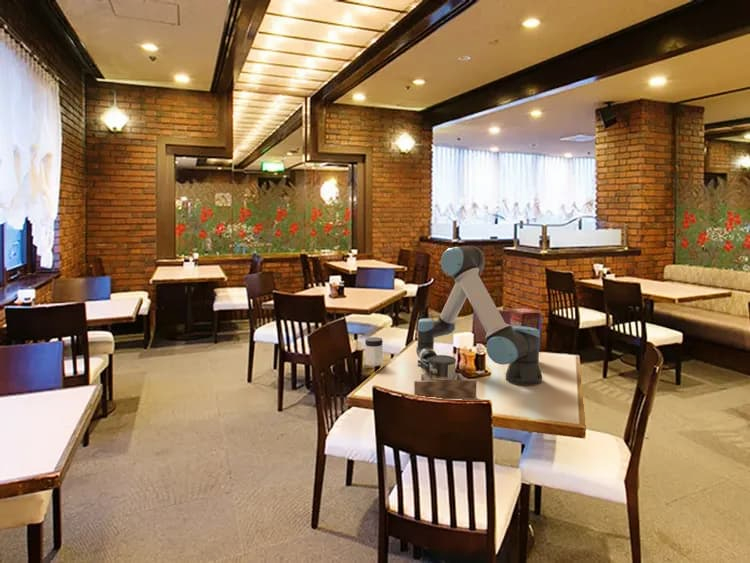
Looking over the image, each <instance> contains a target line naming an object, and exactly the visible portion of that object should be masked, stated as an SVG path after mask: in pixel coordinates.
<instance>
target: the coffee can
mask: <svg viewBox="0 0 750 563" xmlns="http://www.w3.org/2000/svg"><path fill="white" fill-rule="evenodd" d="M456 362H457V359H456V357H455V356H451V355H446V354H445V355H444V354H438V355H436V356H432V357H430V371H429V380H456Z"/></svg>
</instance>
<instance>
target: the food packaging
mask: <svg viewBox="0 0 750 563" xmlns="http://www.w3.org/2000/svg"><path fill="white" fill-rule="evenodd" d="M509 311H510V314H509V315H510V316H509V318H510V319H509V325H511V327H513V326H524V327H531V328H535V329H538V330H539V331H540V312H539V311H535V310H533V309H530V308H527V307H514V308H510V310H509Z"/></svg>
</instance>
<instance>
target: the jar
mask: <svg viewBox="0 0 750 563" xmlns="http://www.w3.org/2000/svg"><path fill="white" fill-rule="evenodd" d="M364 341H365V348H364V349H365V351H364V352H365V365H366V366H369V367H379V366H383V363H384V362H383V358H384V357H383V347H384V346H383V342H384V341H383V338H381V337H377V336H375V337H374V336H371V337H367V338H366V337H365V340H364Z"/></svg>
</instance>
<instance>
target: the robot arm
mask: <svg viewBox="0 0 750 563" xmlns="http://www.w3.org/2000/svg"><path fill="white" fill-rule="evenodd" d="M485 259H486V258H485V255H484V252H483V251H482V249H480V248H478V247H477V246H473V245H467V246H453V247H450V248H449V247H448V248H447V249H446V250H445V251H444V252H443V253H442V255H441V259H440V266H441V269H442V271H443V273H444V274H445V275H447V276H450V277H451V278H452V280H453V281H454V285H453V287H452V289H451V292H450V293H449V296H448V298H447V300H446V303H445V304H444V306H443V309H442V310H441V313H440V315H439V317H438V319H437V320H434V319H432V318H420V319H419V320H418V322H417V323H418V324H417V346H416V347H415V348H416V350H415V351H416V355H417V356H418V358H419V359H417V367H419V368H421V369H422V370H424V371H425V372H426V373H430V357H432V356H436V355H437V352H435V350H434V345H435V344H434V343H435V341H434V340H435V338H439V337H443V336H448V335H449V334H453V333H454V331H455V330H456V320H457V318H458V316H459V313H461V312H460V311H461V310H462V307H463V306H464V304H465V301H466V300H467V299H468V302H469V303H470V305H471V307H472V308H473V311H474V313H475V314H476V316H477V317H478V319H479V322H480V323H481V325H482V327H483V328H484V330H485V333H486V335H485V341H486V342H487V343H486V348H485V350H486V353H487V355H488V357H489V359H490V360H491V361H492V362H494V363H496V364H498V365H501V366H502V365H503V366H504V365H508V367H507V368H506V369H507V370H506V371H505V380H506V381H507V382H508V383H511V384H515V385H519V386H536V385H540V384H541V383H543V374H542V371H541V367H540V363H539V362H540V361H539V359H540V341H541V340H540V339H541V337H540V336H541V335H540V333H541V332H540V329H539V330H538V329H535V328H531V327H524V326H513V327H511V325H510V324H508V323H506V322H505V321H504V318H503V317H502V315H501V313H500V311H499V309H498V308H497V306H496V304H495V302H494V300H493V298H492V297H491V295H490V293H489V290H488V289H487V288H486V286H485V284H484V283H483V280H482V278H480V277H481V275H482V273H483V270H484V267H485V265H486V264H485V263H486V260H485Z"/></svg>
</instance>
